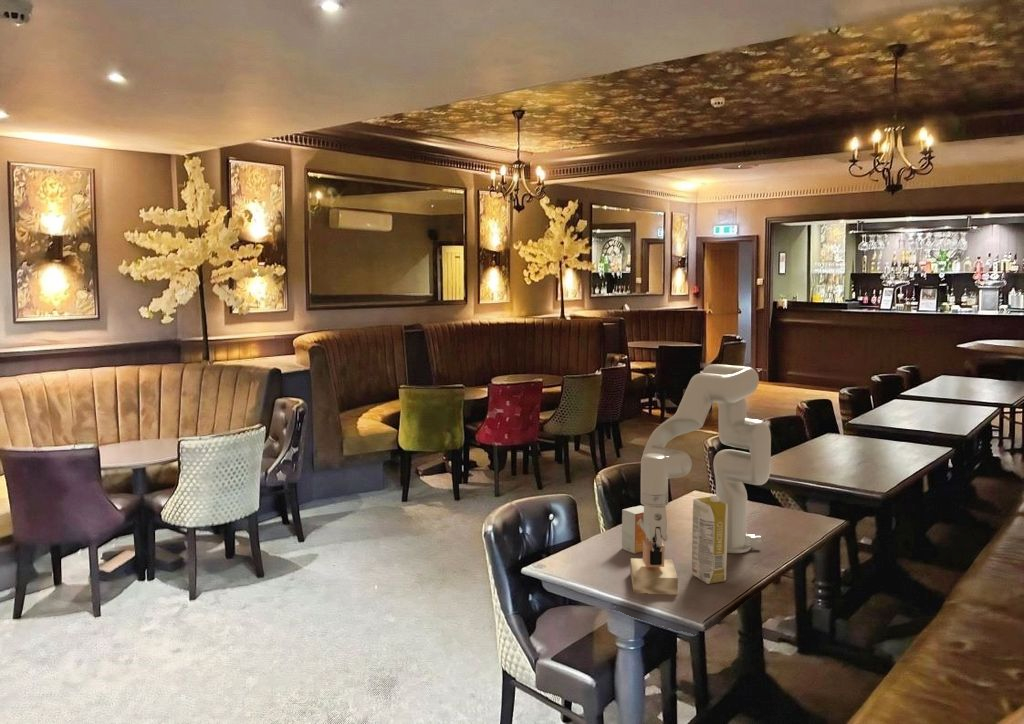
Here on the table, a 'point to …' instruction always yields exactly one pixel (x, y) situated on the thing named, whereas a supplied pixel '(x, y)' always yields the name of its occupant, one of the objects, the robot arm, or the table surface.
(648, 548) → the terracotta block
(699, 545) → the juice carton
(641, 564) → the birch block
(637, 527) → the small box
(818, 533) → the table surface
